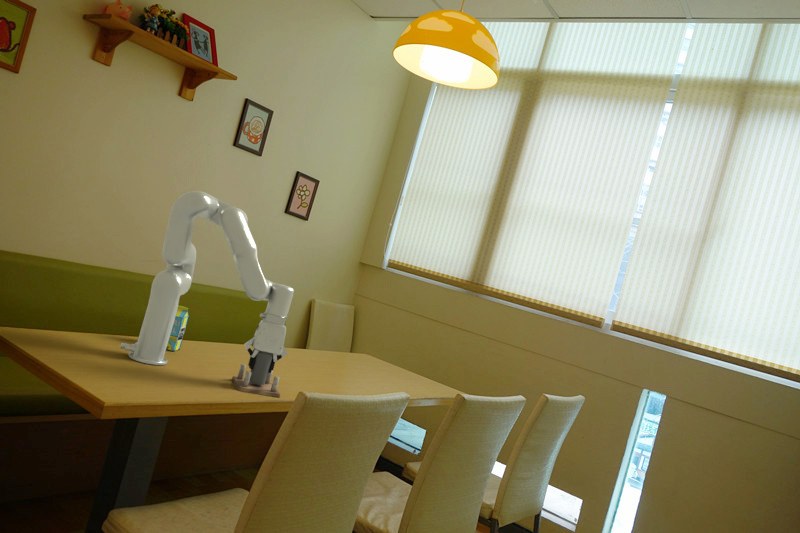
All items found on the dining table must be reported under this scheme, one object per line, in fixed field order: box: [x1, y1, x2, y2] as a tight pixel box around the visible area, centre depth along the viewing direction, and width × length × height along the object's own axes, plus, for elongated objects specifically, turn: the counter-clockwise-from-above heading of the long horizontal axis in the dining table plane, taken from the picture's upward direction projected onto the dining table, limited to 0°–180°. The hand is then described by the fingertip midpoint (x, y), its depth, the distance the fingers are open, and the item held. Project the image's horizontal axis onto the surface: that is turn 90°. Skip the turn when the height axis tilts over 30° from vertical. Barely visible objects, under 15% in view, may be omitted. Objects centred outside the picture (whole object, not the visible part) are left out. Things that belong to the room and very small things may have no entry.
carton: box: [166, 304, 190, 353], centre depth 235 cm, size 7×8×18 cm
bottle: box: [249, 351, 273, 385], centre depth 212 cm, size 6×6×15 cm
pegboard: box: [231, 363, 281, 398], centre depth 212 cm, size 14×14×6 cm
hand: (259, 369), depth 212 cm, fingers closed on bottle, 5 cm apart
